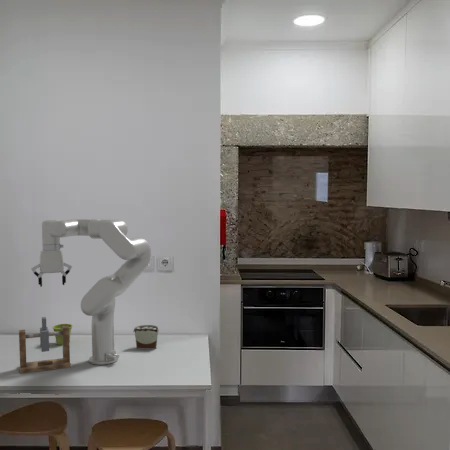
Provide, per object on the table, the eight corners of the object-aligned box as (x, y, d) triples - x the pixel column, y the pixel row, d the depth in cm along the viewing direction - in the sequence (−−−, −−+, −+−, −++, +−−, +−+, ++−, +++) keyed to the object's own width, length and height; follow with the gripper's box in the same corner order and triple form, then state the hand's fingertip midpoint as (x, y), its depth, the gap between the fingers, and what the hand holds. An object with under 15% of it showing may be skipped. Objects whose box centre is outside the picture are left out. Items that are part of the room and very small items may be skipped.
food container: (161, 345, 258) (161, 324, 257) (159, 349, 251) (158, 328, 251) (137, 344, 259) (136, 324, 258) (133, 348, 253) (133, 327, 252)
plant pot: (67, 346, 255) (66, 329, 255) (49, 345, 257) (48, 328, 257) (76, 341, 265) (76, 324, 264) (59, 340, 267) (58, 323, 266)
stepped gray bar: (49, 351, 224) (48, 319, 223) (41, 351, 223) (40, 320, 222) (47, 346, 231) (46, 315, 230) (40, 346, 230) (39, 316, 229)
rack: (68, 360, 235) (67, 324, 234) (70, 367, 227) (69, 329, 225) (20, 366, 228) (18, 328, 226) (20, 373, 219) (19, 334, 218)
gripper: (70, 246, 246) (71, 282, 247) (30, 247, 239) (31, 285, 241) (72, 247, 239) (72, 285, 240) (31, 249, 232) (32, 288, 234)
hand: (52, 285), depth 240 cm, fingers open, 9 cm apart
